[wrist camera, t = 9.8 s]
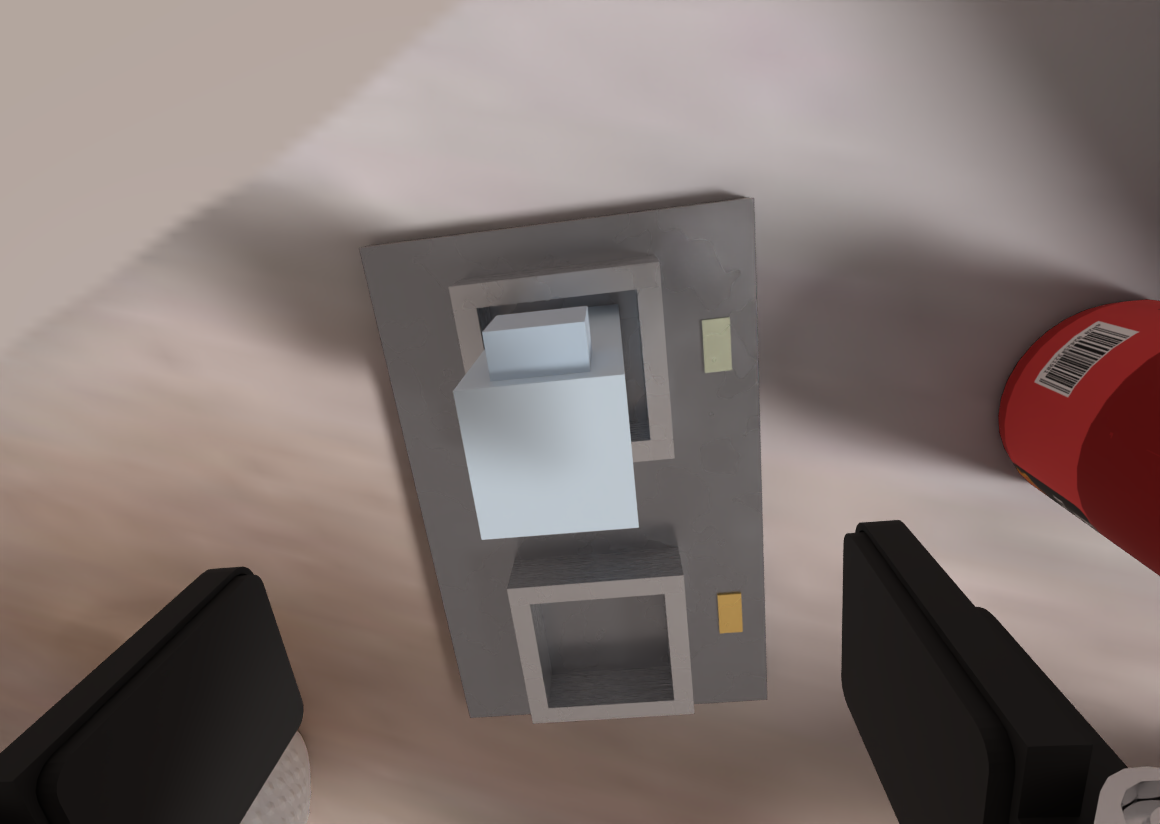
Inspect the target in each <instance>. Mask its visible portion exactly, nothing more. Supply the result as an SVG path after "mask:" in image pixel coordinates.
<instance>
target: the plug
mask: <svg viewBox="0 0 1160 824" xmlns="http://www.w3.org/2000/svg"><path fill="white" fill-rule="evenodd" d="M482 335H483V340H484V346H485V349H484V351H483V352H482V353H481V355H480V356H479V357H478V359H477V360H476V361H475V363H474V364H473V365H472V367H471V368H470V369H469V370H468V372H467V373H466V374H465V376H464V377H463V378H462V380H461V381H460V382H459V384H458V385H457V386H456V388H455V389H454V390H453V394H454V399H455V405H456V410H457V415H458V420H459V425H460V430H461V436H462V441H463V446H464V451H465V456H466V461H467V467H468V472H469V477H470V482H471V487H472V492H473V498H474V503H475V508H476V513H477V518H478V523H479V529H480V534H481V539H482V540H487V539H500V538H512V537H525V536H538V535H551V534H564V533H577V532H589V531H602V530H615V529H628V528H639V523H638V512H637V501H636V490H635V479H634V468H633V457H632V446H631V435H630V424H629V414H628V403H627V392H626V381H625V371H624V360H623V349H622V339H621V328H620V317H619V306H618V304H611V305H602V306H593V307H587V306H581V307H571V308H562V309H553V310H543V311H534V312H524V313H515V314H506V315H497V316H496V317H495V318H494V319H493V320H492V321H491V323H490V324H489V325H488V326H487V327H486V328H485V330H484V331H483V332H482Z"/></svg>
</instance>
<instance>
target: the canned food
mask: <svg viewBox="0 0 1160 824" xmlns="http://www.w3.org/2000/svg"><path fill="white" fill-rule="evenodd" d="M998 417H999V433H1000V436H1001V439H1002V443H1003V446H1004V448H1005V450H1006V452H1007V453H1008V455H1009V457H1010V459H1011V460H1012V462H1013V464H1014V465H1015V467H1016V469H1017V470H1018V472H1019V473H1020V474H1021V475H1022V476H1023V477H1024V478H1025V479H1026V480H1027V481H1028V482H1029V483H1030V484H1031V485H1033V486H1034V487H1036V488H1037V489H1038V490H1040V491H1041V492H1043V493H1044V494H1045V495H1047V496H1048V497H1050V498H1051V499H1052V500H1054V501H1055V502H1057V503H1058V504H1059V505H1061V506H1062V507H1064V508H1065V509H1067V510H1068V511H1069V512H1071V513H1072V514H1074V515H1075V516H1076V517H1078V518H1079V519H1081V520H1082V521H1083V522H1085V523H1086V524H1088V525H1089V526H1090V527H1092V528H1093V529H1095V530H1096V531H1097V532H1099V533H1100V534H1102V535H1103V536H1104V537H1106V538H1107V539H1109V540H1110V541H1111V542H1113V543H1114V544H1116V545H1117V546H1118V547H1120V548H1121V549H1123V550H1124V551H1125V552H1127V553H1128V554H1130V555H1131V556H1132V557H1134V558H1135V559H1137V560H1138V561H1140V562H1141V563H1142V564H1144V565H1145V566H1147V567H1148V568H1149V569H1151V570H1152V571H1154V572H1155V573H1156V574H1158V575H1159V576H1160V301H1157V300H1147V299H1146V300H1135V301H1125V302H1118V303H1111V304H1105V305H1101V306H1098V307H1094V308H1091V309H1087V310H1084V311H1082V312H1080V313H1078V314H1076V315H1074V316H1071V317H1069V318H1067V319H1065V320H1064V321H1062V322H1061V323H1059V324H1058V325H1056V326H1055V327H1053V328H1052V329H1050V330H1049V331H1047V332H1046V333H1045V334H1044V335H1043V336H1042V337H1041V338H1040V339H1038V340H1037V341H1036V342H1035V343H1034V344H1033V345H1032V346H1031V347H1030V348H1029V349H1028V351H1027V352H1026V353H1025V354H1024V356H1023V357H1022V358H1021V359H1020V360H1019V362H1018V363H1017V365H1016V367H1015V368H1014V370H1013V372H1012V373H1011V375H1010V377H1009V379H1008V381H1007V383H1006V386H1005V389H1004V392H1003V394H1002V397H1001V402H1000V409H999V415H998Z"/></svg>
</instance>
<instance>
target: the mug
mask: <svg viewBox="0 0 1160 824" xmlns="http://www.w3.org/2000/svg"><path fill="white" fill-rule="evenodd" d="M311 793H312V791H311V774H310V762H309V756H308V751H307V748H306V745H305V743H304V740H303V738H302V736H301V735H300V733H299V732H298V730H297V732H296V733H295V735H294V736H293V738H292V740H291V741H290V743H289V745H288V746H287V748H286V749H285V751H284V753H283V754H282V756H281V758H280V759H279V761H278V762H277V764H276V766H275V767H274V769H273V771H272V772H271V774H270V776H269V777H268V779H267V780H266V782H265V784H264V785H263V787H262V789H261V790H260V792H259V793H258V795H257V797H256V798H255V800H254V802H253V803H252V805H251V806H250V808H249V810H248V811H247V813H246V815H245V816H244V818H243V819H242V821H241V823H240V824H307V820H308V816H309V813H310V808H309V807H310V797H311Z"/></svg>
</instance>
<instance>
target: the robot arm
mask: <svg viewBox="0 0 1160 824" xmlns="http://www.w3.org/2000/svg"><path fill="white" fill-rule="evenodd" d="M841 678H842V688H843V692H844V696H845V700H846V703H847V705H848V708H849V710H850V712H851V715H852V717H853V719H854V721H855V724H856V726H857V728H858V730H859V733H860V735H861V737H862V740H863V742H864V744H865V746H866V749H867V751H868V753H869V756H870V758H871V760H872V762H873V765H874V767H875V769H876V771H877V774H878V776H879V778H880V781H881V783H882V785H883V787H884V790H885V792H886V794H887V797H888V799H889V801H890V803H891V806H892V808H893V810H894V812H895V815H896V817H897V819H898V822H899V824H1160V768H1158V767H1150V766H1144V767H1135V768H1128V767H1127V766H1126V765H1125V764H1124V763H1123V762H1122V760H1121V759H1120V758H1119V757H1118V756H1117V755H1116V754H1115V752H1114V751H1113V750H1112V749H1111V748H1110V747H1109V746H1108V745H1107V743H1106V742H1105V741H1104V740H1103V739H1102V738H1101V737H1100V735H1099V734H1098V733H1097V732H1096V731H1095V730H1094V729H1093V728H1092V726H1091V725H1090V724H1089V723H1088V722H1087V721H1086V720H1085V719H1084V717H1083V716H1082V715H1081V714H1080V713H1079V712H1078V711H1077V709H1076V708H1075V707H1074V706H1073V705H1072V704H1071V703H1070V702H1069V700H1068V699H1067V698H1066V697H1065V696H1064V695H1063V694H1062V692H1061V691H1060V690H1059V689H1058V688H1057V687H1056V686H1055V685H1054V683H1053V682H1052V681H1051V680H1050V679H1049V678H1048V677H1047V675H1046V674H1045V673H1044V672H1043V671H1042V670H1041V669H1040V668H1039V666H1038V665H1037V664H1036V663H1035V662H1034V661H1033V660H1032V659H1031V657H1030V656H1029V655H1028V654H1027V653H1026V652H1025V651H1024V649H1023V648H1022V647H1021V646H1020V645H1019V644H1018V643H1017V642H1016V640H1015V639H1014V638H1013V637H1012V636H1011V635H1010V634H1009V632H1008V631H1007V630H1006V629H1005V628H1004V627H1003V626H1002V625H1001V623H1000V622H999V621H998V620H997V619H996V618H995V617H994V616H993V615H992V614H991V613H990V612H989V611H987V610H986V609H984V608H981V607H975V606H974V605H973V604H972V602H971V601H970V600H969V599H968V598H967V597H966V595H965V594H964V593H963V592H962V591H961V590H960V588H959V587H958V586H957V585H956V584H955V583H954V581H953V580H952V579H951V578H950V577H949V576H948V574H947V573H946V572H945V571H944V570H943V569H942V567H941V566H940V565H939V564H938V563H937V562H936V560H935V559H934V558H933V557H932V556H931V555H930V553H929V552H928V551H927V550H926V549H925V548H924V546H923V545H922V544H921V543H920V542H919V541H918V539H917V538H916V537H915V536H914V535H913V534H912V532H911V531H910V530H909V529H908V528H907V527H906V525H905V524H904V523H903V522H901V521H900V520H892V521H878V522H864V523H859V524H858V525H857V527H856V532H855V533H847V534H846V535H845V537H844V549H843V609H842V670H841ZM302 718H303V702H302V698H301V695H300V692H299V689H298V686H297V683H296V680H295V677H294V674H293V671H292V668H291V665H290V662H289V659H288V656H287V653H286V650H285V647H284V644H283V641H282V638H281V635H280V632H279V629H278V626H277V623H276V620H275V617H274V614H273V611H272V608H271V605H270V602H269V599H268V596H267V593H266V590H265V587H264V584H263V582H262V580H261V578H260V577H259V576H257V575H254V574H253V572H252V571H251V570H250V569H249V568H246V567H232V568H218V569H210V570H207V571H205V572H204V573H202V574H201V575H200V576H199V577H198V578H197V579H196V580H194V581H193V582H192V583H191V584H190V585H189V586H188V587H187V588H185V589H184V590H183V591H182V592H181V593H180V594H179V595H178V596H177V597H175V598H174V599H173V600H172V601H171V602H170V603H169V604H168V605H166V606H165V607H164V608H163V609H162V610H161V611H160V612H159V613H157V614H156V615H155V616H154V617H153V618H152V619H151V620H150V621H148V622H147V623H146V624H145V625H144V626H143V627H142V628H141V629H139V630H138V631H137V632H136V633H135V634H134V635H133V636H132V637H130V638H129V639H128V640H127V641H126V642H125V643H124V644H123V645H121V646H120V647H119V648H118V649H117V650H116V651H115V652H114V653H112V654H111V655H110V656H109V657H108V658H107V659H106V660H105V661H103V662H102V663H101V664H100V665H99V666H98V667H97V668H96V669H94V670H93V671H92V672H91V673H90V674H89V675H88V676H87V677H85V678H84V679H83V680H82V681H81V682H80V683H79V684H78V685H76V686H75V687H74V688H73V689H72V690H71V691H70V692H69V693H68V694H66V695H65V696H64V697H63V698H62V699H61V700H60V701H59V702H57V703H56V704H55V705H54V706H53V707H52V708H51V709H50V710H48V711H47V712H46V713H45V714H44V715H43V716H42V717H41V718H39V719H38V720H37V721H36V722H35V723H34V724H33V725H32V726H30V727H29V728H28V729H27V730H26V731H25V732H24V733H23V734H21V735H20V736H19V737H18V738H17V739H16V740H15V741H14V742H12V743H11V744H10V745H9V746H8V747H7V748H6V749H5V750H3V751H2V752H1V753H0V824H240V823H241V821H242V819H243V818H244V816H245V815H246V813H247V811H248V810H249V808H250V806H251V805H252V803H253V802H254V800H255V798H256V797H257V795H258V793H259V792H260V790H261V789H262V787H263V785H264V784H265V782H266V780H267V779H268V777H269V776H270V774H271V772H272V771H273V769H274V767H275V766H276V764H277V762H278V761H279V759H280V758H281V756H282V754H283V753H284V751H285V749H286V748H287V746H288V745H289V743H290V741H291V740H292V738H293V736H294V735H295V733H296V732H297V730H298V728H299V726H300V724H301V721H302Z"/></svg>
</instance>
